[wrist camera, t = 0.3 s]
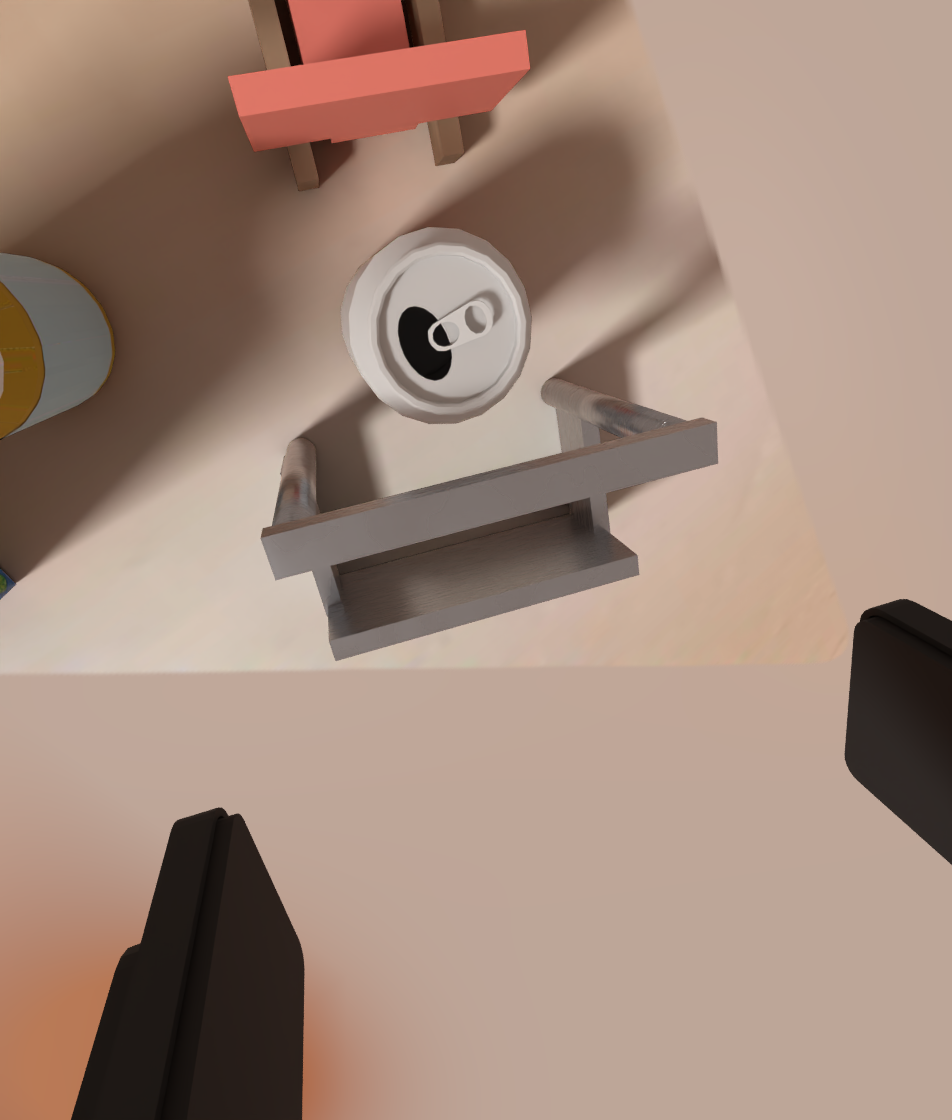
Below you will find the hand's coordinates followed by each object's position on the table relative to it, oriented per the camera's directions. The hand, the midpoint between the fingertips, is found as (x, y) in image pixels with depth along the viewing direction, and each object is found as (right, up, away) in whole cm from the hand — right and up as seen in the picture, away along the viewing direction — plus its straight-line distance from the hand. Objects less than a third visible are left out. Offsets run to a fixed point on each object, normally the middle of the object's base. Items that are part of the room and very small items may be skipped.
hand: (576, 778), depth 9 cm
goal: (-3, +7, +30) cm, 31 cm away
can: (-5, +16, +26) cm, 31 cm away
